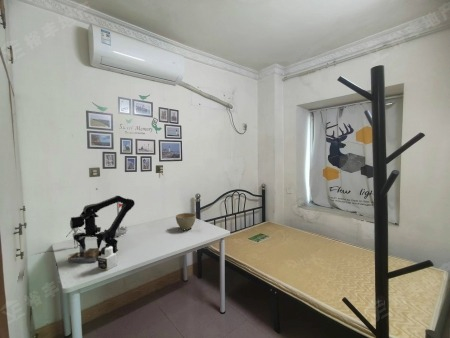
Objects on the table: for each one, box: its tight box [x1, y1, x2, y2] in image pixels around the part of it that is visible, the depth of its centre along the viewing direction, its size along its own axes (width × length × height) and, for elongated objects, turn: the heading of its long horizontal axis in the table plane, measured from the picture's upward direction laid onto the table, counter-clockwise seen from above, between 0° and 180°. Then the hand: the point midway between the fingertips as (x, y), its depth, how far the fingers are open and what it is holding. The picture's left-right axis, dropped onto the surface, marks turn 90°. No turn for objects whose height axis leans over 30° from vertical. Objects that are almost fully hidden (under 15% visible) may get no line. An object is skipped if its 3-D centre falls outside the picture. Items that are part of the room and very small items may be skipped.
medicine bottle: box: [97, 245, 118, 271], centre depth 130 cm, size 7×7×12 cm
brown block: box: [84, 247, 100, 258], centre depth 142 cm, size 6×6×5 cm
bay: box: [67, 243, 101, 264], centre depth 145 cm, size 20×17×6 cm
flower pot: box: [175, 212, 197, 230], centre depth 200 cm, size 18×18×12 cm
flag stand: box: [115, 202, 128, 237], centre depth 186 cm, size 13×13×30 cm
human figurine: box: [65, 227, 85, 249], centre depth 161 cm, size 12×4×18 cm, turn 145°
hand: (91, 248), depth 142 cm, fingers open, 9 cm apart
